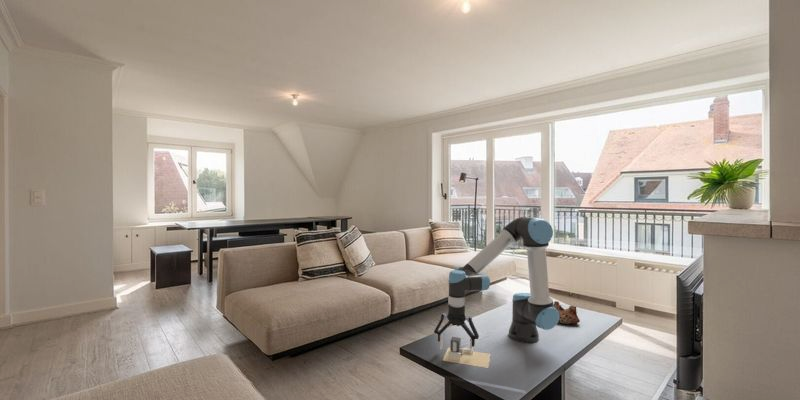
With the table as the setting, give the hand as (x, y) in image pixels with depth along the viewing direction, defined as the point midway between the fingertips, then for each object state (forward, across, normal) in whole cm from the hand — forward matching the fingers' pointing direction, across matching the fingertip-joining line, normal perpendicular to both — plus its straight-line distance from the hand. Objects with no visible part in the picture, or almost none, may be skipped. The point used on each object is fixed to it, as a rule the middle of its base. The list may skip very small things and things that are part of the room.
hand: (455, 350), depth 159 cm
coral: (+4, -54, -71) cm, 89 cm away
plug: (+2, 0, 0) cm, 2 cm away
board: (+3, -5, -1) cm, 6 cm away
